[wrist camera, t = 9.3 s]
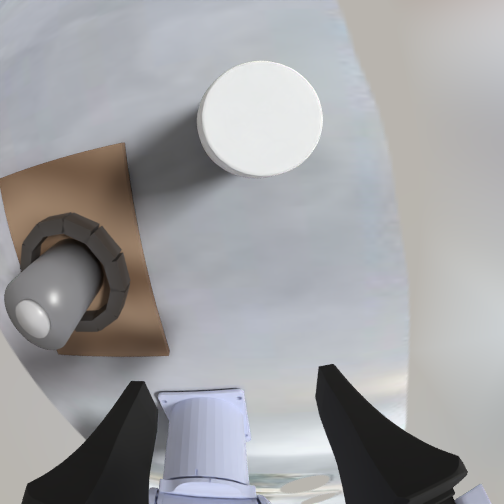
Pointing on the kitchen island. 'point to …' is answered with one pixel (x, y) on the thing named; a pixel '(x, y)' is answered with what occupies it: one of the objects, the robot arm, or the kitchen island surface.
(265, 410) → the kitchen island surface
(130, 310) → the ring board
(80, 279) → the cap
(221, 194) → the kitchen island surface
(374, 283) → the kitchen island surface
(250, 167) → the supplement bottle
